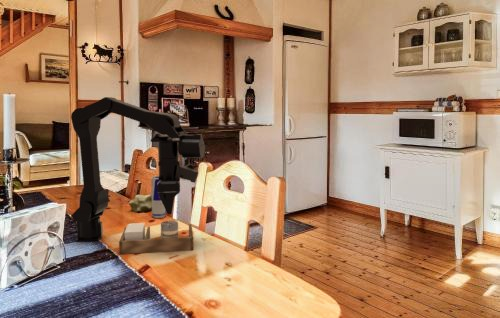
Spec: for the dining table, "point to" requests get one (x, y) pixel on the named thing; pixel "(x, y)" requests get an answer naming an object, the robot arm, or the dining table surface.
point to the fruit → (141, 203)
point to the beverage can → (156, 200)
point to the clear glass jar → (169, 229)
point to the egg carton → (135, 231)
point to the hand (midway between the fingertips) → (169, 210)
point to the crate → (155, 244)
